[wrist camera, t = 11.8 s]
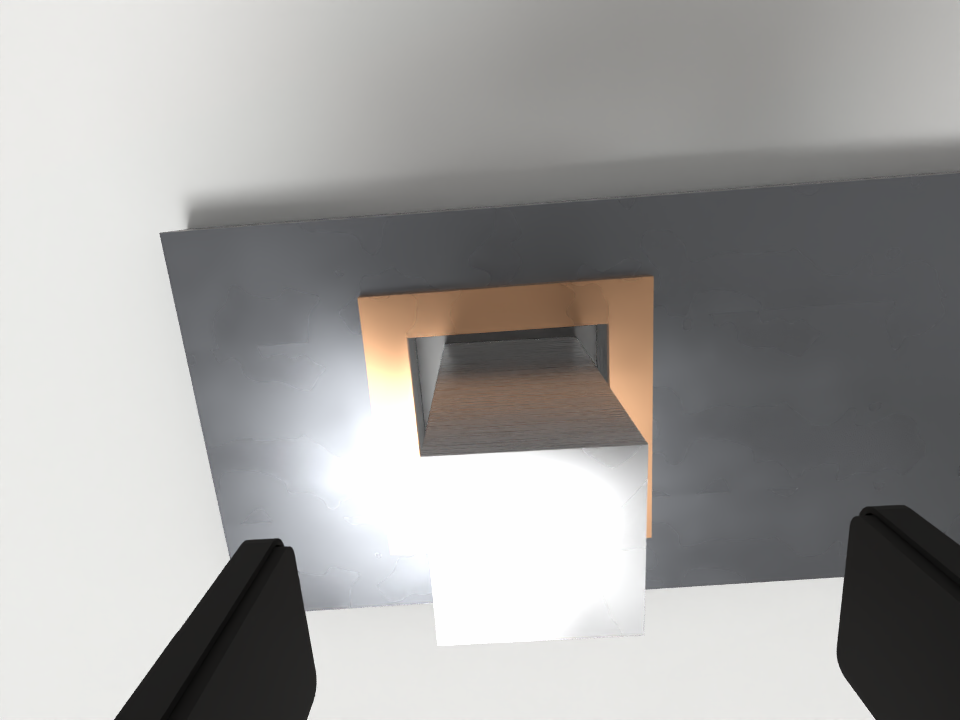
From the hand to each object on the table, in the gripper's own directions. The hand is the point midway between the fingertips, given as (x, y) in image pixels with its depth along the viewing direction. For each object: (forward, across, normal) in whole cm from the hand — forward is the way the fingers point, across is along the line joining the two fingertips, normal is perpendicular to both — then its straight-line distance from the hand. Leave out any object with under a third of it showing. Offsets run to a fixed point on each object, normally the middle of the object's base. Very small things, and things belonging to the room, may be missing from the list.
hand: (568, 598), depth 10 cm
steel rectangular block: (+9, +1, 0) cm, 9 cm away
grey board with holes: (+9, -7, 0) cm, 12 cm away
